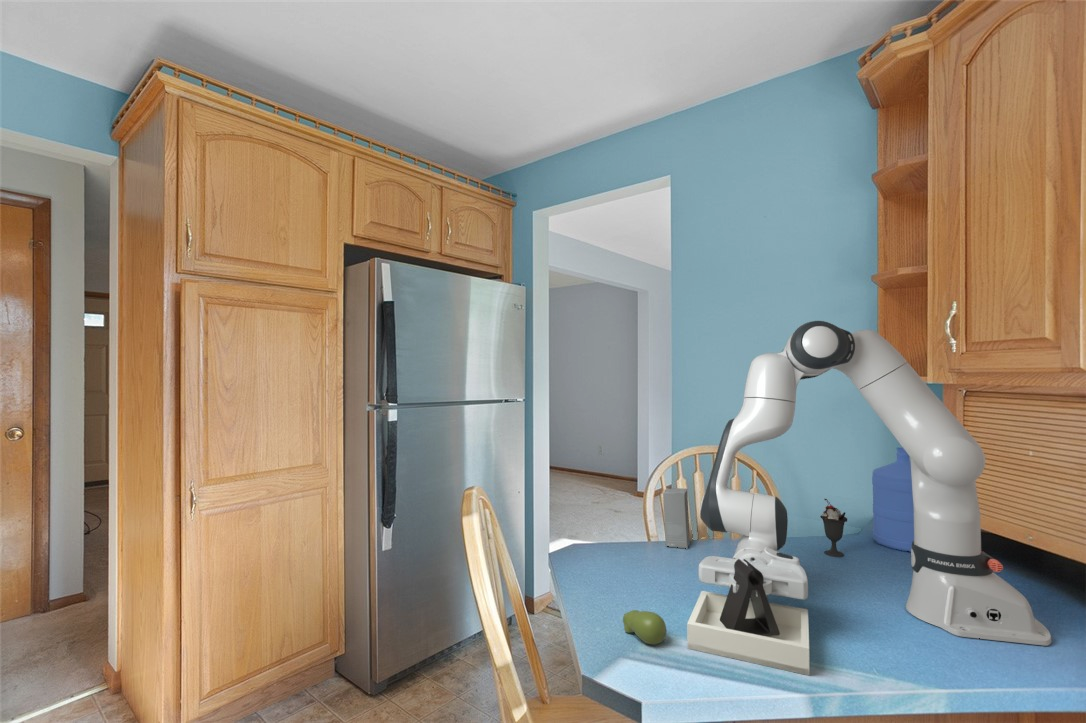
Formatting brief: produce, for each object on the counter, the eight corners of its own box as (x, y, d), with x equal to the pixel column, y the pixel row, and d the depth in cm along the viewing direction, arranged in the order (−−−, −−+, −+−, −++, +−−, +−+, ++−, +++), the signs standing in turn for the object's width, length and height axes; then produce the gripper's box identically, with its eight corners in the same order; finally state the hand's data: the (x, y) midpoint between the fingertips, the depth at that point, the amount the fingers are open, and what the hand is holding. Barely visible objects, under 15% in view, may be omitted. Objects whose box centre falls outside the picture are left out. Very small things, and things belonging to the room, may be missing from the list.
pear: (647, 620, 96) (614, 608, 104) (651, 651, 95) (617, 637, 103) (670, 613, 98) (636, 602, 107) (674, 643, 98) (639, 629, 106)
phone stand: (731, 636, 96) (731, 571, 96) (719, 621, 102) (718, 559, 102) (780, 635, 97) (779, 569, 97) (764, 620, 103) (764, 558, 103)
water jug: (950, 555, 144) (948, 453, 145) (887, 552, 147) (886, 451, 148) (920, 537, 160) (918, 445, 160) (863, 534, 163) (862, 444, 163)
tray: (808, 632, 102) (807, 609, 102) (809, 675, 88) (809, 648, 88) (701, 612, 111) (701, 590, 111) (687, 648, 96) (687, 623, 96)
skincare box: (687, 549, 149) (687, 493, 150) (662, 546, 152) (662, 491, 152) (690, 540, 157) (690, 487, 158) (666, 538, 160) (666, 485, 160)
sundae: (816, 549, 149) (815, 496, 150) (841, 550, 148) (840, 497, 149) (825, 557, 143) (824, 502, 143) (852, 558, 142) (851, 503, 142)
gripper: (703, 544, 116) (691, 565, 103) (807, 558, 107) (808, 584, 94) (703, 573, 116) (691, 598, 103) (807, 590, 107) (808, 619, 94)
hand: (748, 591), depth 99 cm, fingers closed on phone stand, 3 cm apart
